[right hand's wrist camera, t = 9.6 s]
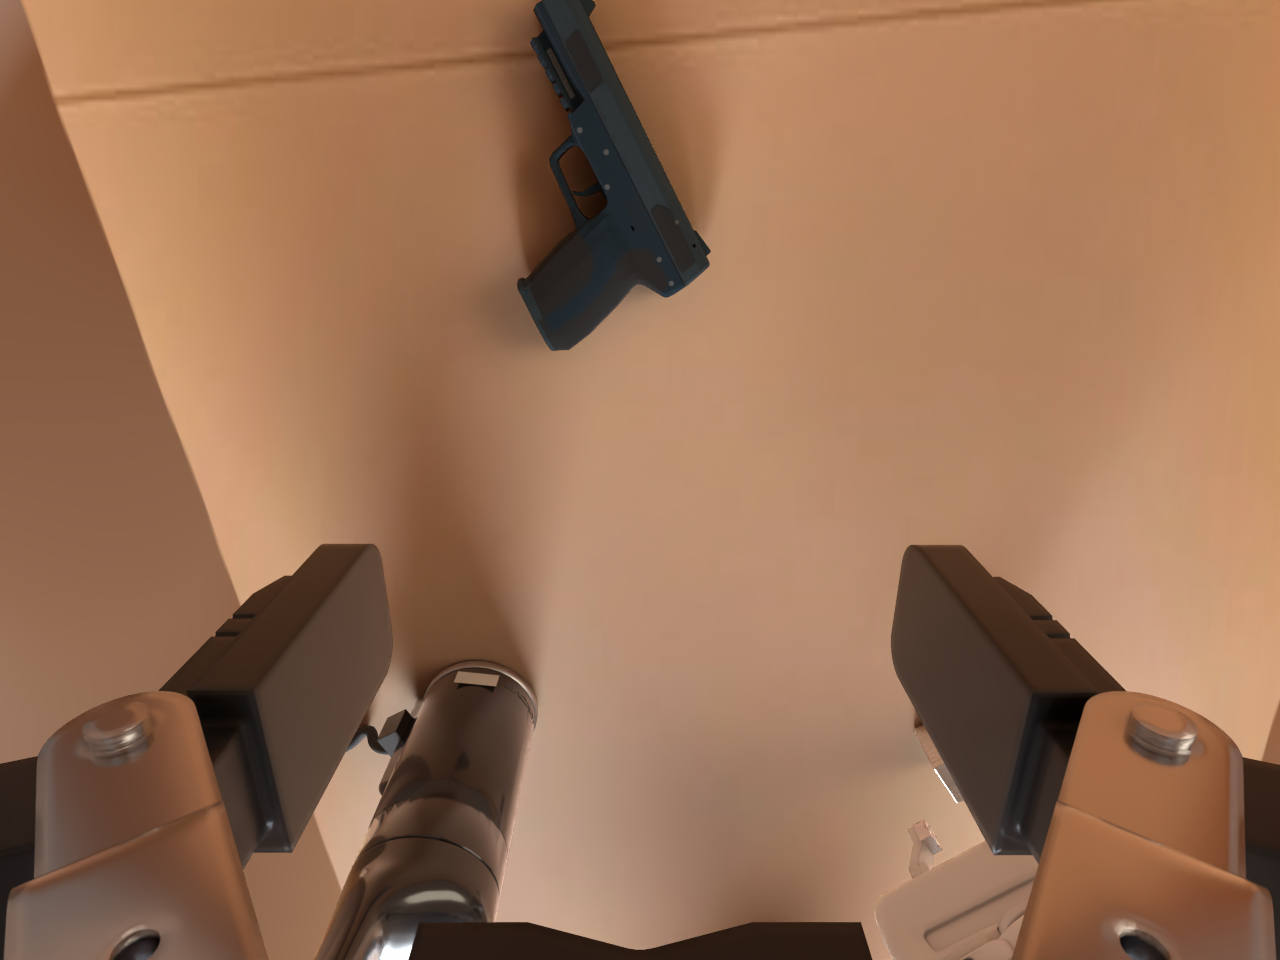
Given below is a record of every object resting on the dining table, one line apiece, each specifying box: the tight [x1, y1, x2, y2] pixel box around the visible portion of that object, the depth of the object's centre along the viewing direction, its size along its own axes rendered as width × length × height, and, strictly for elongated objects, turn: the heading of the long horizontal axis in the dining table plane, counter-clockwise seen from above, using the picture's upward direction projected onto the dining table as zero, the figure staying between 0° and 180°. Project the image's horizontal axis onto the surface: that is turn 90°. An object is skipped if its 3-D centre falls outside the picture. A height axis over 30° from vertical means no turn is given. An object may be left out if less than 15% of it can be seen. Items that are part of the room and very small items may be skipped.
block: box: [914, 725, 964, 803], centre depth 59 cm, size 4×4×5 cm
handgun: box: [517, 0, 711, 351], centre depth 44 cm, size 3×18×12 cm
